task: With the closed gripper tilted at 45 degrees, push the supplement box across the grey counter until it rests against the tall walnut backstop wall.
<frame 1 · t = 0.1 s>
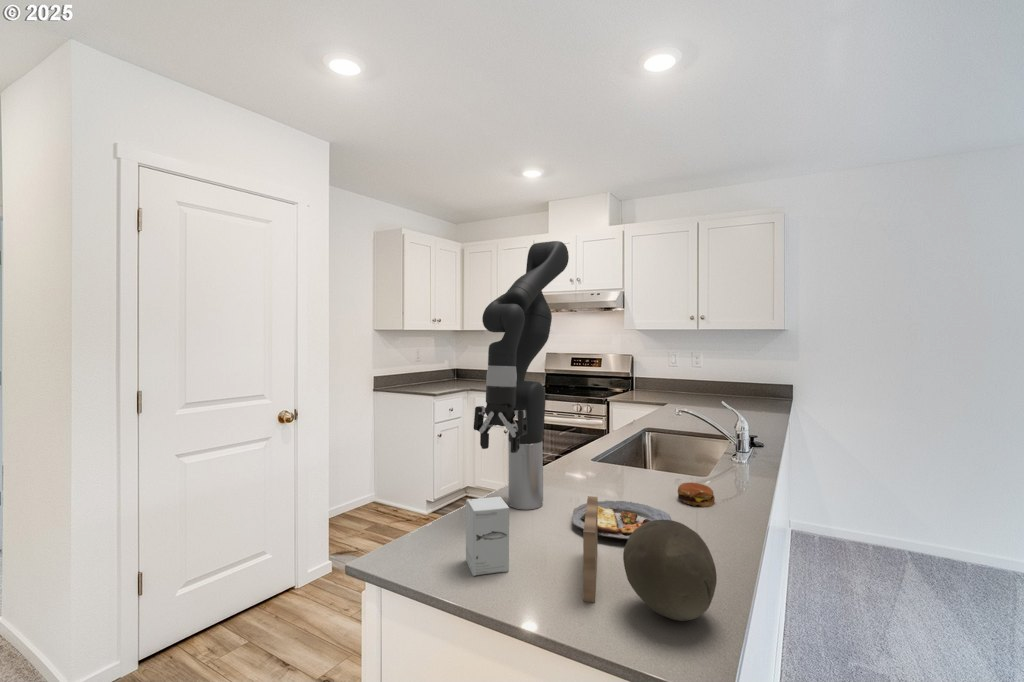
hand: (499, 450, 122), 17 cm above the worktop, tool pointing down, fingers open, 8 cm apart
burger: (696, 502, 136), on the worktop
walnut backstop: (591, 544, 94), on the worktop
supplement box: (487, 567, 98), on the worktop
food plate: (621, 527, 119), on the worktop
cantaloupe: (668, 616, 81), on the worktop
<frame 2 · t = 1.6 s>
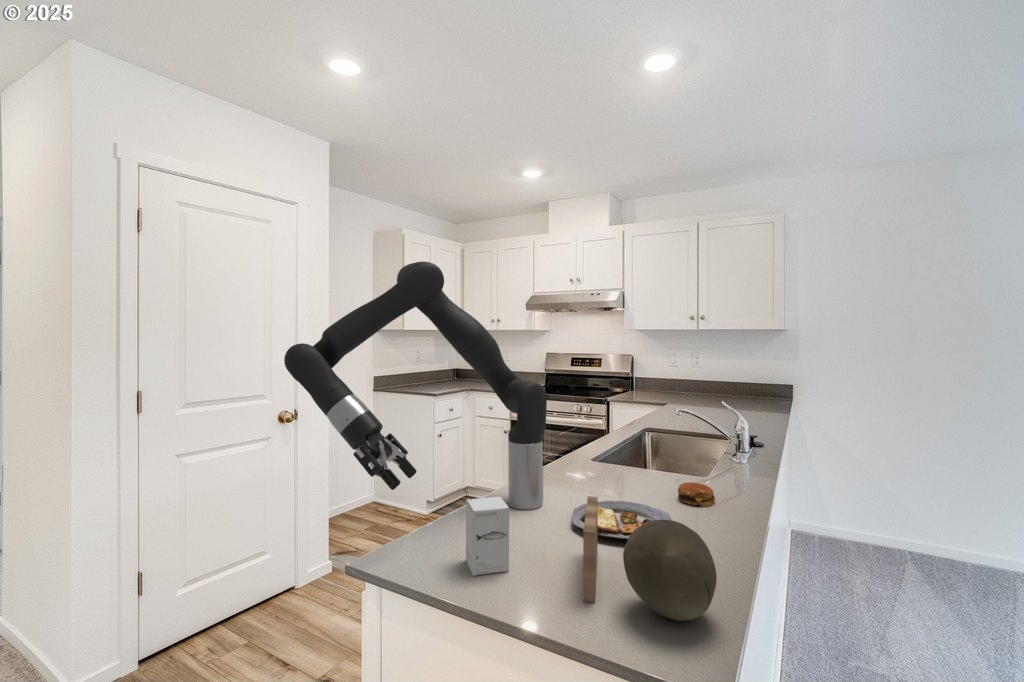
hand: (405, 480, 101), 16 cm above the worktop, tool tilted 45°, fingers open, 8 cm apart
nothing on the worktop moved.
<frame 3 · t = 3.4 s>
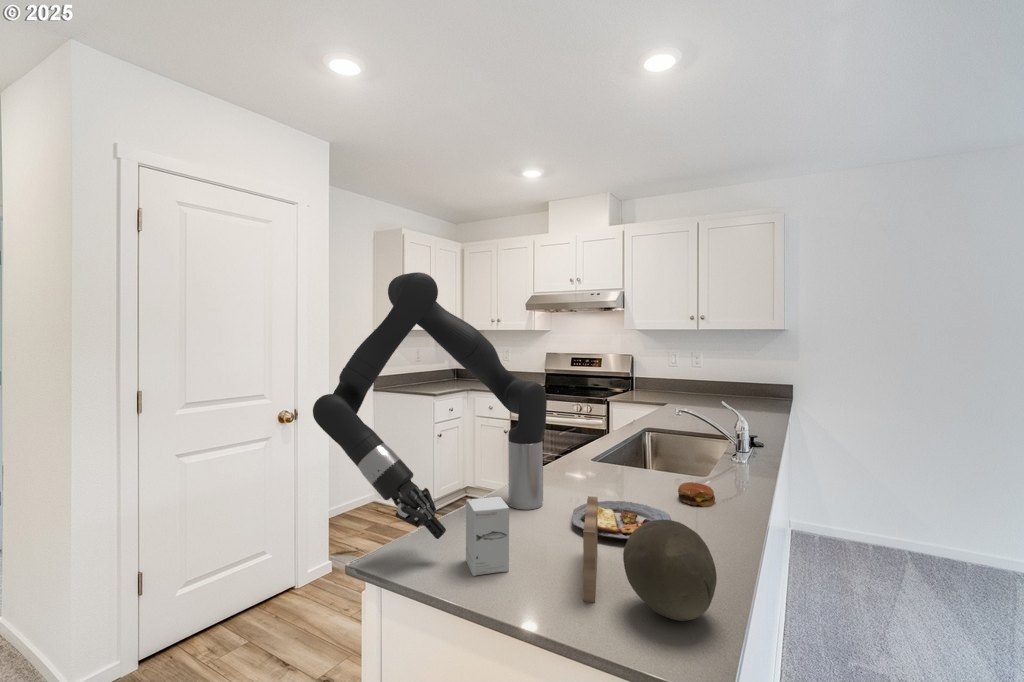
hand: (442, 534, 100), 5 cm above the worktop, tool tilted 45°, fingers closed
nothing on the worktop moved.
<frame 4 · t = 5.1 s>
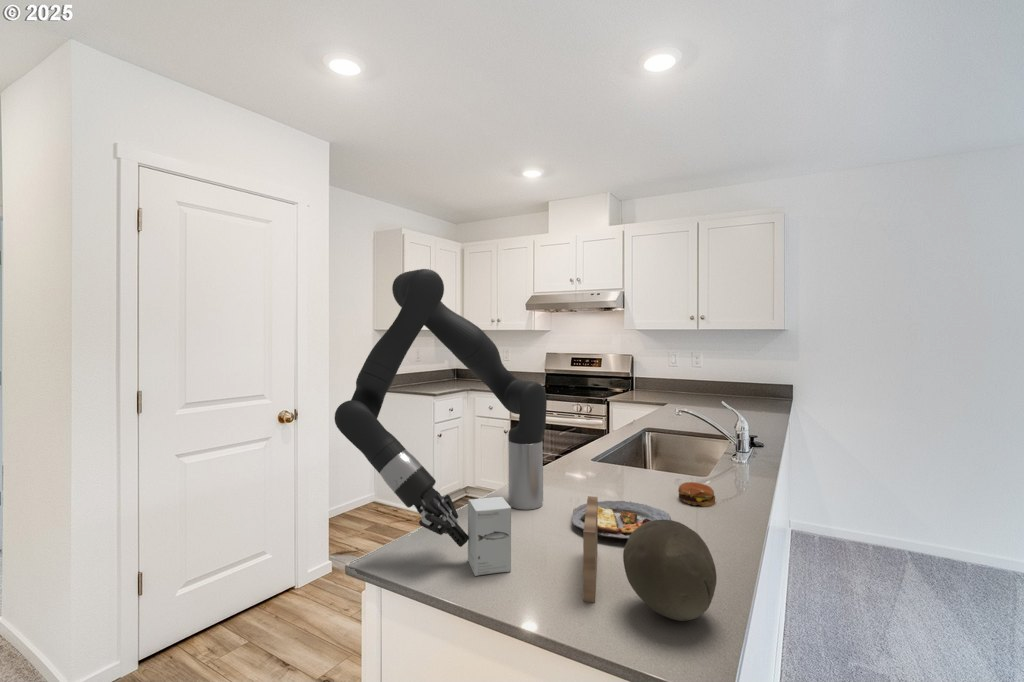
hand: (465, 542, 99), 4 cm above the worktop, tool tilted 45°, fingers closed
supplement box: (489, 567, 98), on the worktop, touching gripper
everything else where it was.
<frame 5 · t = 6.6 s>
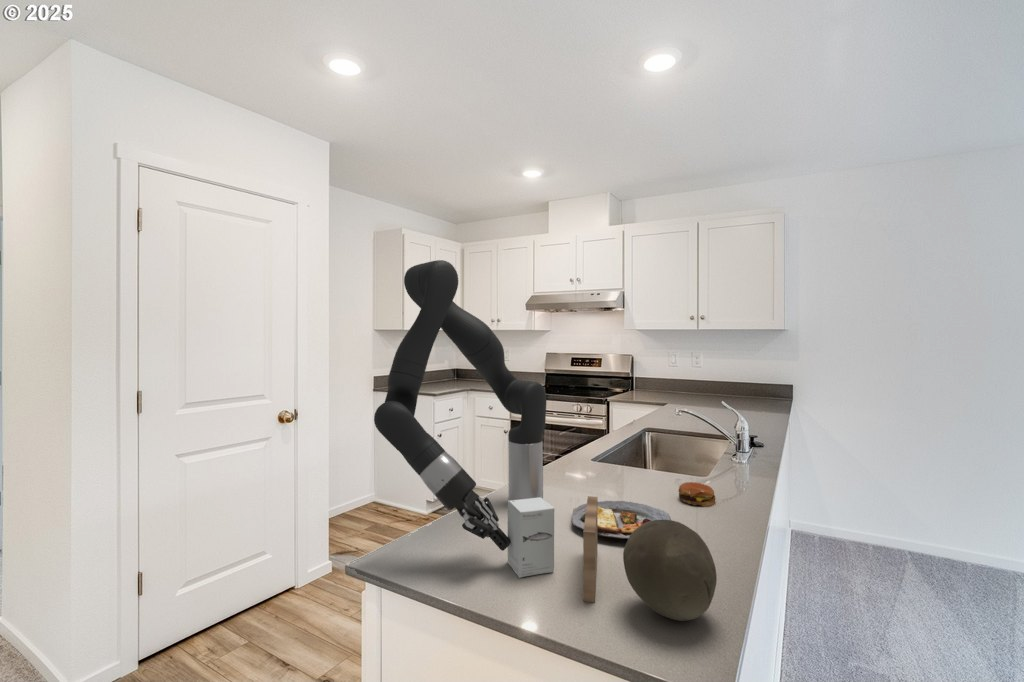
hand: (507, 546, 97), 4 cm above the worktop, tool tilted 45°, fingers closed
supplement box: (530, 568, 98), on the worktop, touching gripper
everything else where it was.
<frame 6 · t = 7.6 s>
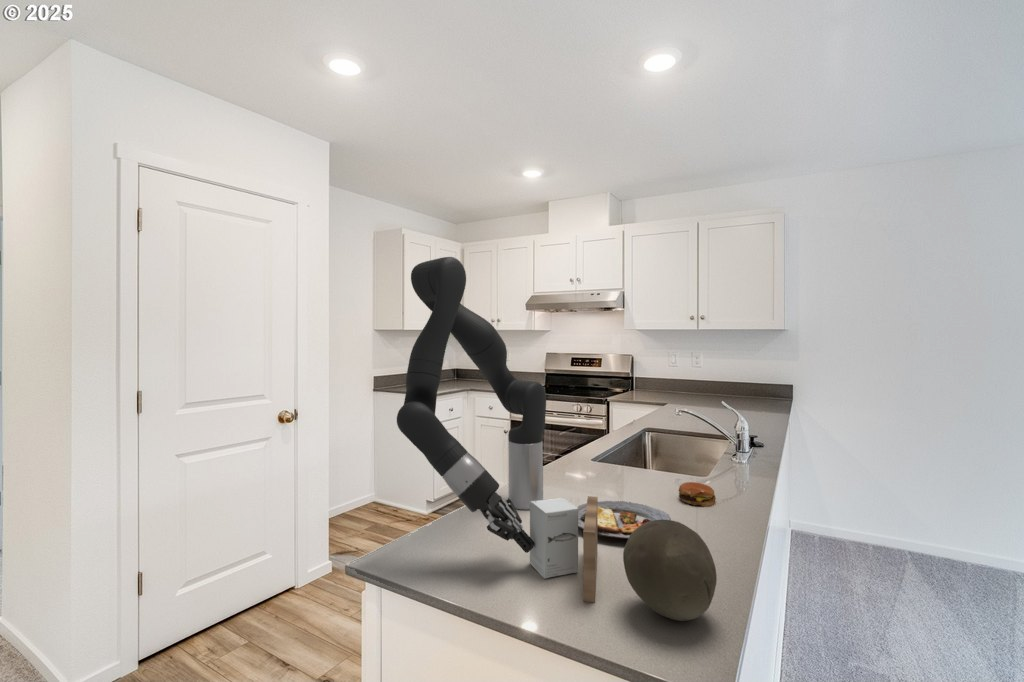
hand: (531, 548, 96), 4 cm above the worktop, tool tilted 45°, fingers closed
supplement box: (553, 569, 97), on the worktop, touching gripper
everything else where it was.
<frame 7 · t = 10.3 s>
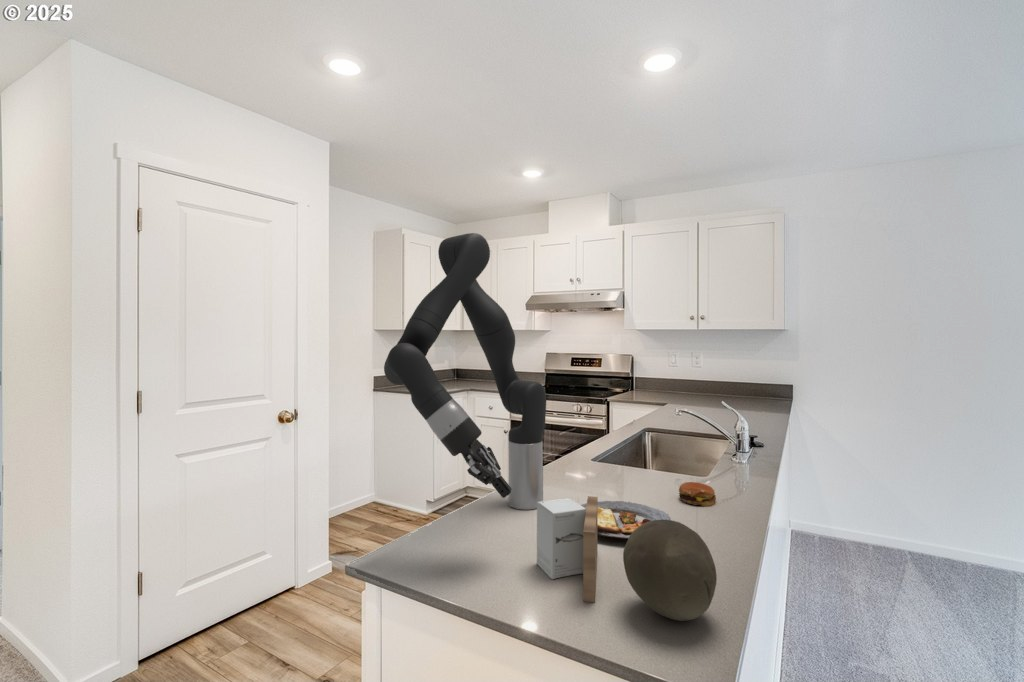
hand: (507, 494, 100), 14 cm above the worktop, tool tilted 40°, fingers closed
supplement box: (560, 569, 97), on the worktop
everything else where it was.
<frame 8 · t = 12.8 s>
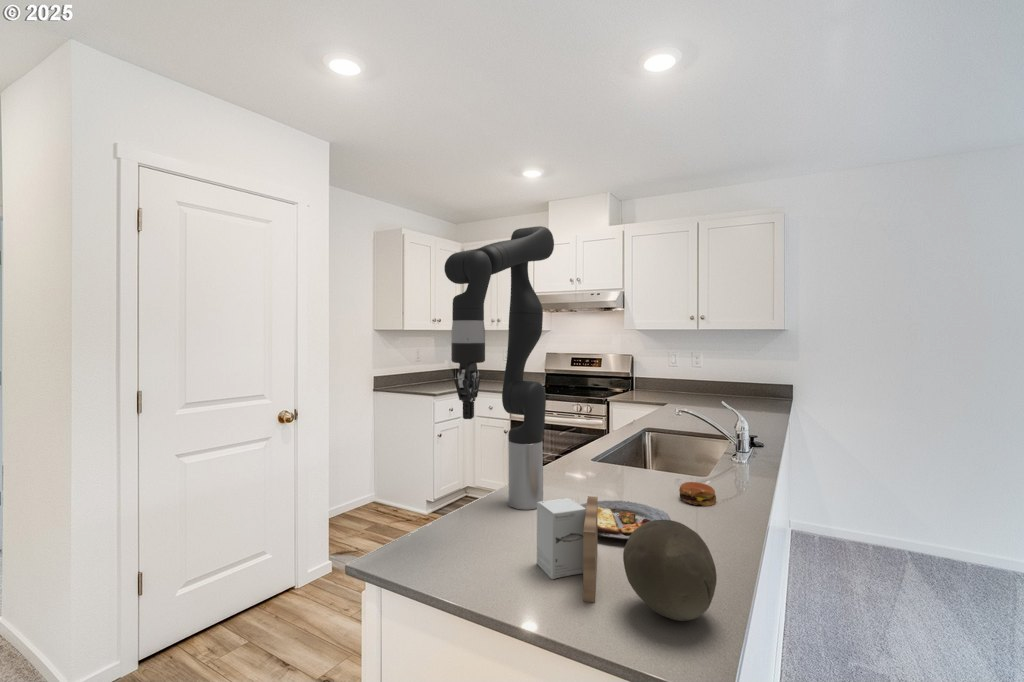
hand: (468, 418, 111), 27 cm above the worktop, tool pointing down, fingers closed
nothing on the worktop moved.
at the end: supplement box 2.0 cm from the walnut backstop (horizontally); supplement box tilted 0° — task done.
